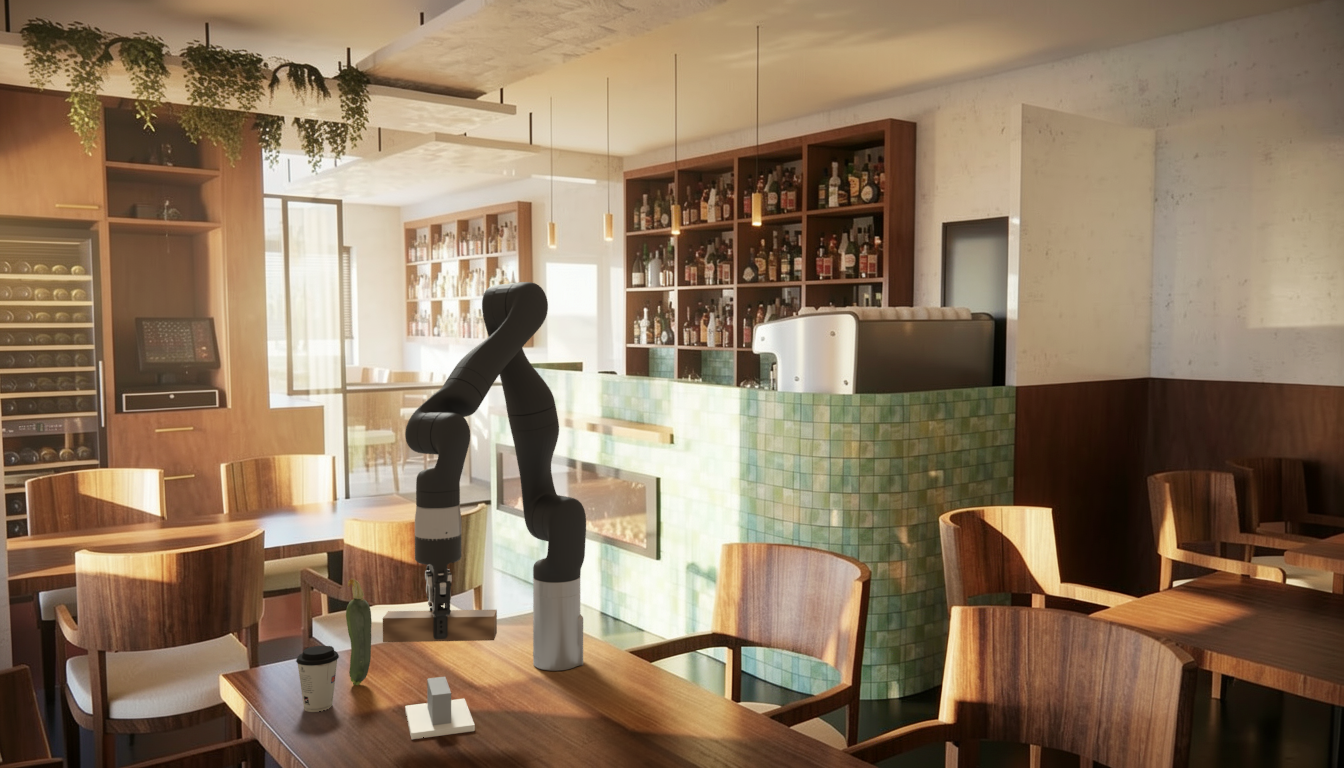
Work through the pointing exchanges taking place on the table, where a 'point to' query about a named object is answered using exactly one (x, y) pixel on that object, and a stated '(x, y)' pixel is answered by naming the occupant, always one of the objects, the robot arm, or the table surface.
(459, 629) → the beam
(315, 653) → the coffee cup
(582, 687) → the table surface
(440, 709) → the fulcrum
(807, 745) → the table surface
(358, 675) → the vegetable
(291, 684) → the table surface
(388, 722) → the table surface
